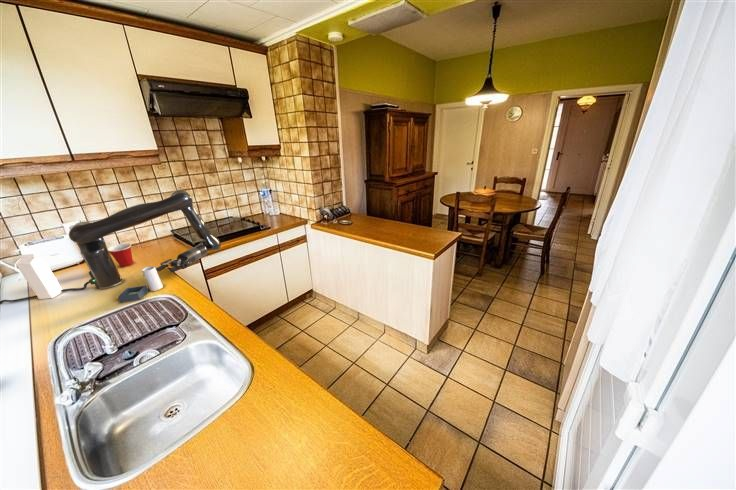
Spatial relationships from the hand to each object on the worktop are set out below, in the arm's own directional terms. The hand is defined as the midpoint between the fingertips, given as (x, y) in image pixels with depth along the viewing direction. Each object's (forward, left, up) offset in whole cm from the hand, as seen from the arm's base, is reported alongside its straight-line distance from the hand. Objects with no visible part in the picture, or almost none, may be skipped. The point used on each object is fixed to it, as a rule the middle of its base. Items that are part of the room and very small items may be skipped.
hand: (163, 270), depth 133 cm
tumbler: (-3, -6, -6) cm, 9 cm away
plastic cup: (-34, +32, -7) cm, 47 cm away
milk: (-53, +5, -7) cm, 53 cm away
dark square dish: (-10, -11, -6) cm, 16 cm away
